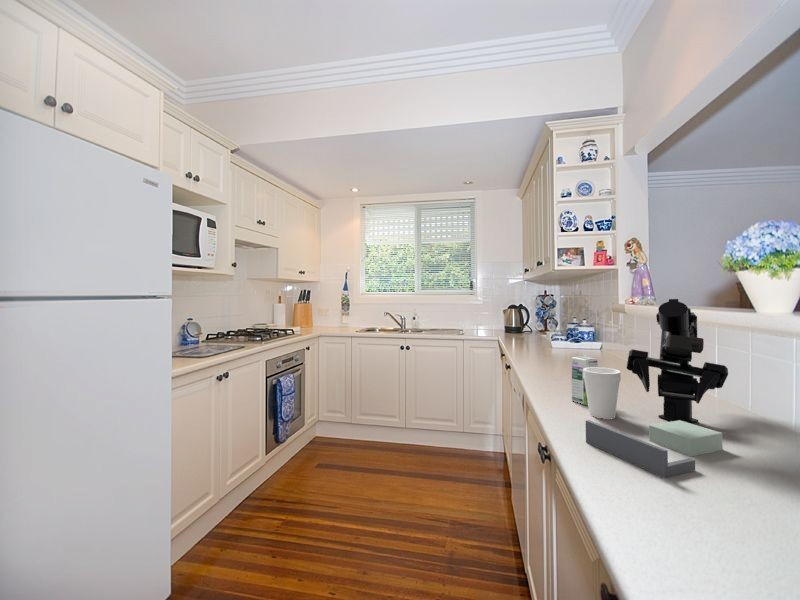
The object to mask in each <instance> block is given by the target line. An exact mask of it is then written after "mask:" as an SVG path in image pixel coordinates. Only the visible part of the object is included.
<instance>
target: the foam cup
mask: <svg viewBox="0 0 800 600" xmlns="http://www.w3.org/2000/svg"><path fill="white" fill-rule="evenodd" d="M583 378H584V381H585V388H586V394H587V400H588V405H587V406H588V412H589V415H590V416H591V417H593V416H594V417H593V418H595V417H597V418H596V419H600V418H603V419H602V420H612V419H611V418H614V419H615V417H616V410H617V405H618V398H619V397H618V396H619V390H620V383H621V378H622V376H621V370H618V369H616V368H608V367H599V366H598V367H590V368H584V369H583Z"/></svg>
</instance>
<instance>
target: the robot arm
mask: <svg viewBox="0 0 800 600" xmlns="http://www.w3.org/2000/svg"><path fill="white" fill-rule="evenodd" d="M655 316H656V322H657V325H659V327H660V329H661V334H660V335H661V337H660V348H659V358H655V357H649V351H644V350H639V349H631V350H629V351H628V352H629V353H628V355H627V363H626V369H627V370H628V371H631V373H633V374H634V375H636V376H637V377H638V378H639V380H640V381H641V383H642V386H643V387H644V390H645V391H646V392H647V393H649V392H650V383H651V382H650V381H651V380H650V368H649V367H651V368H657V369H659V370H661V371H660V374H657V394H658V395H657V397H663V405H662V406H663V414H659V415H658V418H660V419H663V420H667V421H668V422H671V421H678V420H680V421H684V422H687V423H690V424H693V423H699V419H698V418H693V402H696V404H700V402H701V400H702V399H703V396H704V394H705V393H706V392H708V390H715V389H721V388H723V386H724V384H725V382H726V380H727V378H728V376H729V369H728V367H727V366H726V365H724V364H718V363H714V362H713V363H712V362H707V361H705V362H704V364H703V365H702V367H699V366H693V365H691V364H690V362H692V359H693V354H692V353H696V354H702V352H703V350H704V343H705V342H704V341H705V340H704V338H702V337H698V316H697V315H696V314H695V312H692V309H691V308H690V307H688V306H687V304H685V303H684V302H680V301H679V299H678V298H669V299H668V301H666V302H663V303H662V304H661V305H659V306H658V312H657V313H656V315H655ZM696 377H698V378H699V381H698V379H697V378H696Z"/></svg>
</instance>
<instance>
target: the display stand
mask: <svg viewBox="0 0 800 600" xmlns="http://www.w3.org/2000/svg"><path fill="white" fill-rule="evenodd" d="M585 443H587V444H589V445H591V446H594V447H596V448H598V449H600V450H603V451H605V452H607V453H609V454H611V455H614V456H615V457H618V458H620V459H622V460H624V461H626V462H629V463H631V464H633V465H635V466H637V467H639V468H642V469H644V470H646V471H648V472H650V473H653V474H654V475H657V476H659V477H662V478H664V479H665V478H669V477H670V478H671V477H674V476H678V475H681V474H686V473H690V472H694V471H696V459H693V458H691V457H689V458H684V459H678V460H674V461H669V462H668V460H669V457H668V450H667V449H665V448H662V447H660V446H657V445H655V444H653V443H650V442H647V441H644V440H641V439H638V438H636V437H634V436H631V435H628V434H626V433H623V432H621V431H618V430H617V429H615V428H610V427H608V426H605V425H603V424H600V423H598V422H594V421H593V420H590V419H587V420H585Z"/></svg>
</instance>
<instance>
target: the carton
mask: <svg viewBox="0 0 800 600" xmlns="http://www.w3.org/2000/svg"><path fill="white" fill-rule="evenodd" d="M648 434H649V435H648V439H649V441H650V442H653V443H654V444H658V445H660V446H663V447H666V448H667V447H668V449H670V448H671V449H670V450H673V449H674V450H673V451H675V450H676V451H675V452H678V451H679V452H678V453H680V452H681V454H683V453H684V454H683V455H686V456H688V455H689V456H688V457H694V456H693V455H695V456H699V455H698V454H700V455H704V454H703V453H705V454H708V453H715V452H719V451H723V450H724V449H723V448H724V446H723V445H724V444H723V432H721V431H717V430H714V429H710V428H706V427H703V426H700V425H697V424H693V423H687V422H684V421H680V420H678V421H667V422H660V423H654V424H648ZM718 450H719V451H718Z"/></svg>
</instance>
